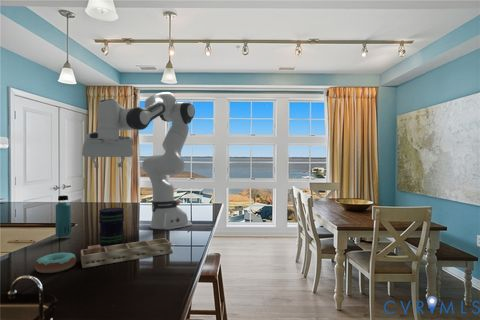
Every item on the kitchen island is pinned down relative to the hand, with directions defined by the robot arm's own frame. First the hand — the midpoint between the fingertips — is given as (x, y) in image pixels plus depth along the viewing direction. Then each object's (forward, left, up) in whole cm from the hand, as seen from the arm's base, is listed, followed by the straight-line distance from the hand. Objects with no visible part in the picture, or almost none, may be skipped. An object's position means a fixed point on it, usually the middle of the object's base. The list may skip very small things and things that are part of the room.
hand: (108, 167), depth 129 cm
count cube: (+7, +22, -32) cm, 40 cm away
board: (-4, +22, -33) cm, 40 cm away
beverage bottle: (+17, -20, -33) cm, 42 cm away
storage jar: (-1, +2, -33) cm, 33 cm away
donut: (+19, +23, -34) cm, 45 cm away
